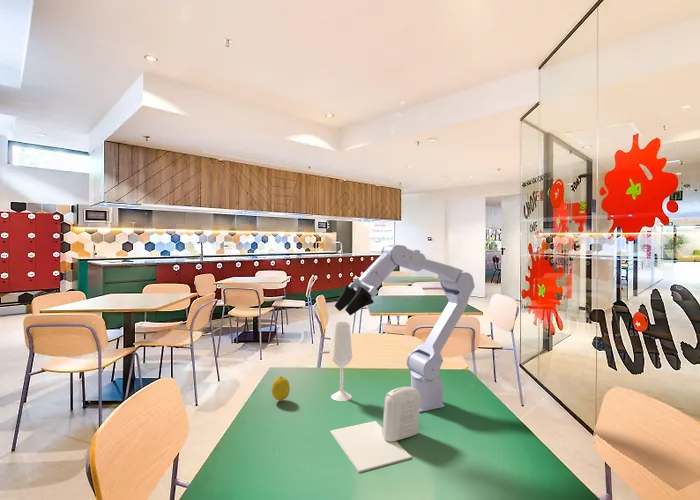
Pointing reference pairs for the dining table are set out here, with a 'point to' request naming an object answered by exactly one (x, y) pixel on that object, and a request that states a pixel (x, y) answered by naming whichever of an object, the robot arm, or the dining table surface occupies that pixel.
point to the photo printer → (401, 413)
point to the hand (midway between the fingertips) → (342, 310)
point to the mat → (368, 446)
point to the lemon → (280, 388)
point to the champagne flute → (341, 355)
